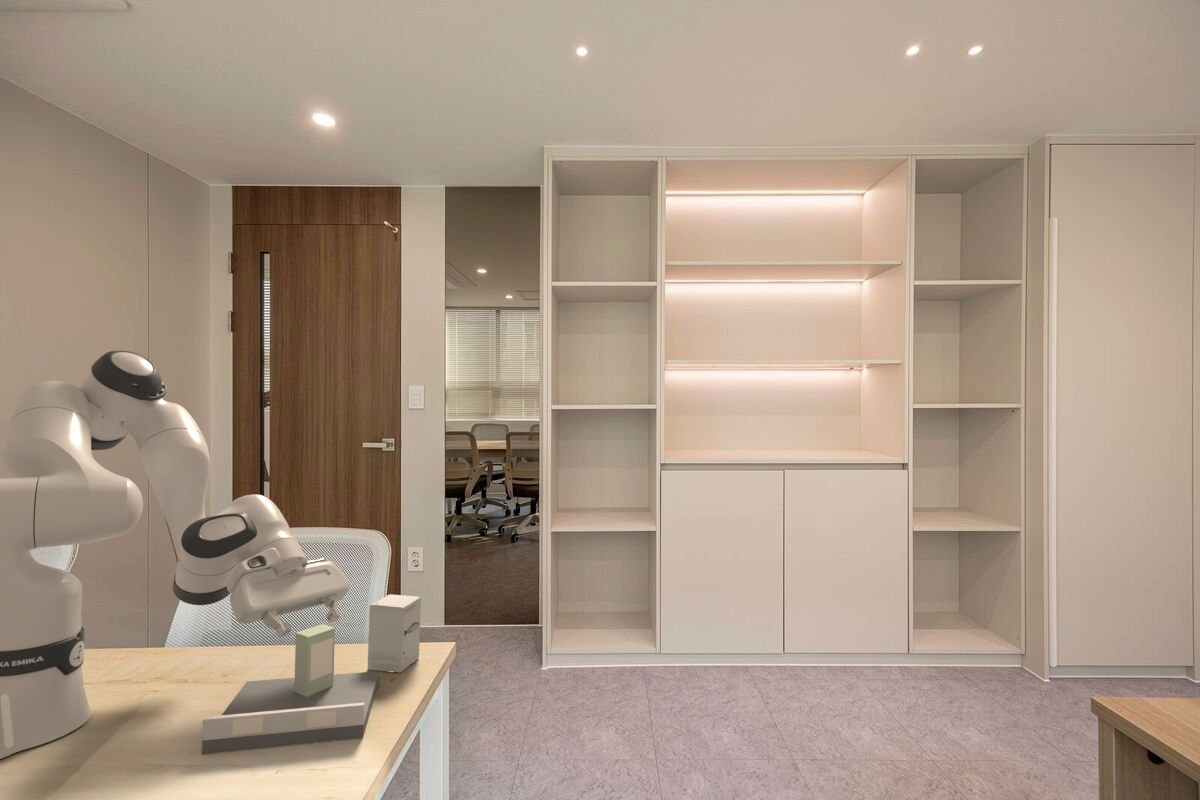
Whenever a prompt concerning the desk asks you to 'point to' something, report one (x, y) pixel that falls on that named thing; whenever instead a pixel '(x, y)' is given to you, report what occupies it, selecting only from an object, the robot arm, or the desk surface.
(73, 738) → the desk surface
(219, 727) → the shelf board
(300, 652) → the sage carton
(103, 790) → the desk surface
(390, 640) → the supplement box
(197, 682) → the desk surface
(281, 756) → the desk surface
